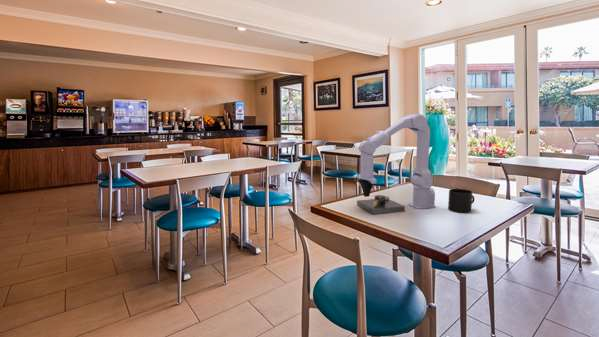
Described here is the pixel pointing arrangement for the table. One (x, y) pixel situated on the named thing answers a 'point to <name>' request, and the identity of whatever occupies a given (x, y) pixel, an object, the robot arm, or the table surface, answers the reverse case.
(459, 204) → the mug
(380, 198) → the level knob
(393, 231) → the table surface
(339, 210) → the table surface
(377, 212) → the tribrach base
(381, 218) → the table surface
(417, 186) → the robot arm
